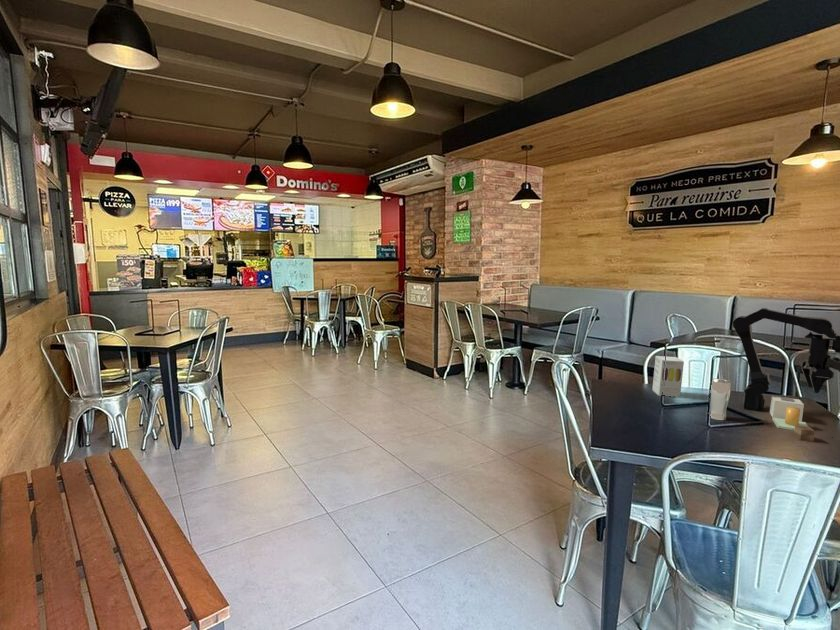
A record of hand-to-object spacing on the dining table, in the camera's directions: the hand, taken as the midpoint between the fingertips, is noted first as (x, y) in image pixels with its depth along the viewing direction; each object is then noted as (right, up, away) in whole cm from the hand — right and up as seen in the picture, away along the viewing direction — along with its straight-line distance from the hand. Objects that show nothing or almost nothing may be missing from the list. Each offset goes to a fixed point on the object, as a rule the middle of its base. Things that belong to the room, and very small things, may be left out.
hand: (813, 389), depth 178 cm
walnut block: (-19, -14, -18) cm, 30 cm away
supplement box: (-40, -7, +32) cm, 52 cm away
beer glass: (-36, -12, +2) cm, 38 cm away
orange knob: (-13, -12, -6) cm, 19 cm away
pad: (-13, -13, -6) cm, 19 cm away
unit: (-8, -12, +4) cm, 15 cm away
